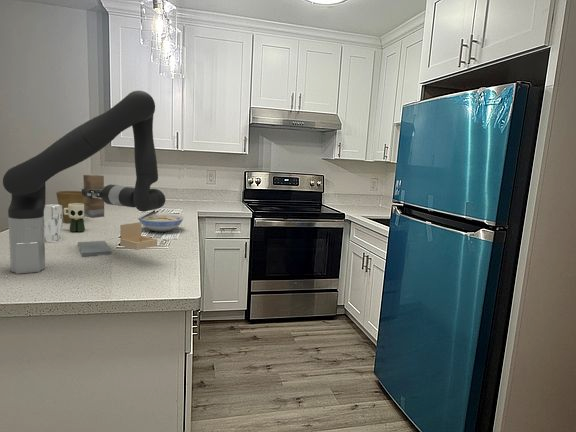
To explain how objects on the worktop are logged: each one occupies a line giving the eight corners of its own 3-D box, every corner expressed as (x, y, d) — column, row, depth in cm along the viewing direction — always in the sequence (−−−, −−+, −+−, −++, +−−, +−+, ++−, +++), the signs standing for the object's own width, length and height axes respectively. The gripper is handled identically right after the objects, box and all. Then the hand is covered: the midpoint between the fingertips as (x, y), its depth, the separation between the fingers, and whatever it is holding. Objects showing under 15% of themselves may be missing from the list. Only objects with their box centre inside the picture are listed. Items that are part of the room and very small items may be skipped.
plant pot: (90, 224, 195) (90, 193, 193) (57, 225, 187) (56, 193, 185) (88, 219, 208) (87, 190, 205) (56, 219, 200) (56, 190, 197)
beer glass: (59, 238, 162) (58, 203, 160) (66, 241, 158) (65, 206, 156) (41, 239, 157) (40, 204, 155) (47, 243, 153) (46, 206, 151)
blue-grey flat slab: (111, 254, 143) (111, 250, 143) (82, 257, 137) (81, 253, 137) (104, 244, 158) (104, 240, 157) (77, 245, 152) (77, 242, 152)
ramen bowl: (176, 237, 180) (176, 220, 178) (128, 234, 179) (128, 217, 178) (189, 227, 204) (189, 213, 203) (147, 224, 204) (147, 210, 203)
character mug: (63, 233, 172) (62, 205, 170) (65, 230, 178) (64, 203, 176) (89, 232, 176) (89, 205, 174) (90, 229, 183) (90, 203, 181)
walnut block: (104, 216, 147) (103, 175, 144) (92, 218, 142) (91, 175, 140) (96, 215, 149) (95, 174, 147) (84, 216, 145) (83, 174, 142)
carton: (167, 246, 161) (167, 225, 160) (136, 253, 147) (136, 230, 146) (146, 241, 167) (146, 221, 166) (114, 247, 153) (114, 225, 152)
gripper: (134, 184, 143) (106, 181, 151) (100, 186, 131) (71, 182, 139) (134, 204, 144) (106, 199, 152) (100, 207, 132) (71, 202, 140)
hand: (89, 191), depth 145 cm, fingers closed on walnut block, 5 cm apart
